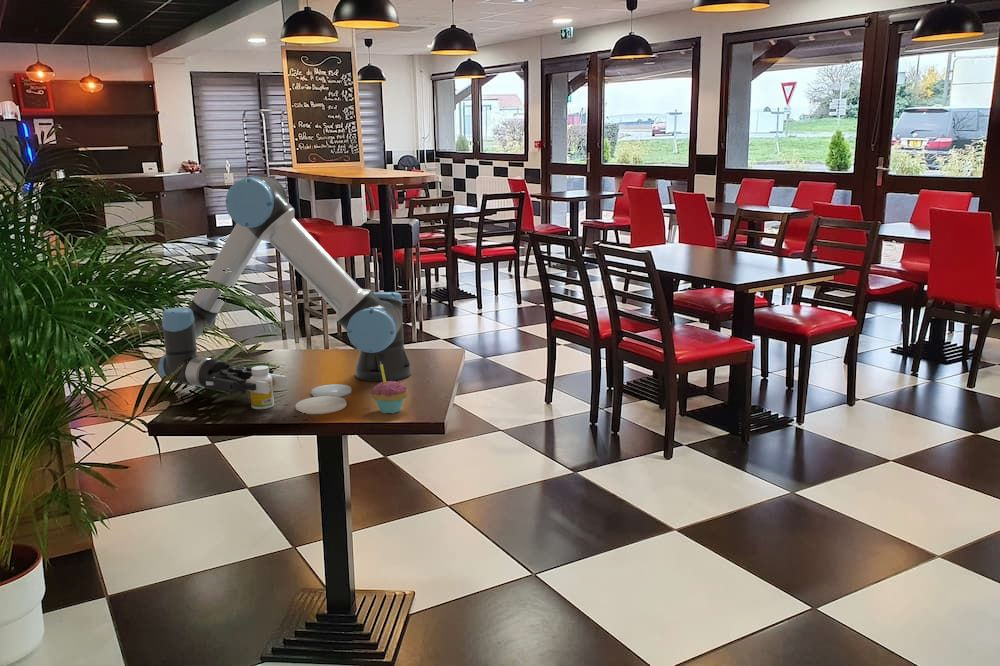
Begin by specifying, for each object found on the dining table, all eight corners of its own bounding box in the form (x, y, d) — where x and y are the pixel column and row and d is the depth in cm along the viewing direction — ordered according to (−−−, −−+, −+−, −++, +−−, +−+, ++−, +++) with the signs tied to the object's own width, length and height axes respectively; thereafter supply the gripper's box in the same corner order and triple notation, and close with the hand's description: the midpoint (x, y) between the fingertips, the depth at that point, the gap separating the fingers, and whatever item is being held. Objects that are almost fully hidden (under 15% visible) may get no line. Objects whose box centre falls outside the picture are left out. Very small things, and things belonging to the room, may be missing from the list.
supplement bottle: (256, 402, 200) (253, 364, 198) (277, 403, 199) (274, 364, 197) (247, 409, 195) (244, 370, 193) (269, 409, 194) (266, 370, 192)
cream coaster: (336, 396, 204) (336, 393, 204) (353, 408, 194) (353, 405, 194) (289, 404, 198) (289, 401, 198) (304, 417, 188) (304, 414, 188)
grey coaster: (343, 385, 214) (343, 382, 214) (357, 394, 206) (357, 391, 206) (306, 391, 209) (306, 388, 209) (318, 400, 201) (318, 397, 201)
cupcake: (368, 415, 189) (365, 365, 186) (378, 404, 197) (375, 356, 195) (403, 416, 188) (401, 366, 185) (412, 405, 196) (410, 357, 193)
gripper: (238, 378, 213) (305, 390, 202) (180, 397, 197) (249, 410, 186) (236, 351, 211) (303, 361, 200) (177, 367, 196) (246, 379, 185)
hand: (276, 385), depth 193 cm, fingers closed on supplement bottle, 5 cm apart
